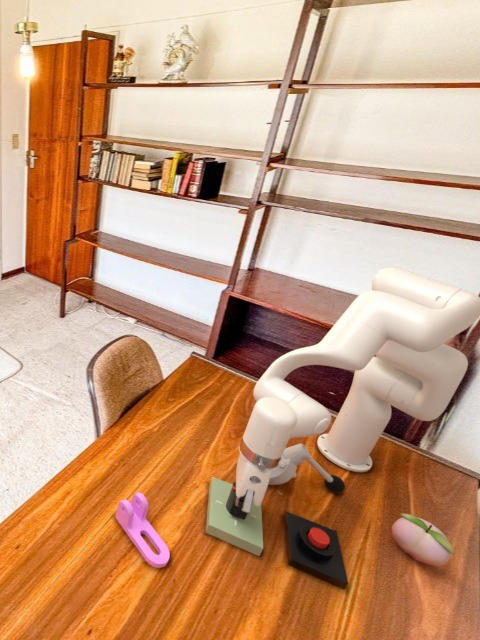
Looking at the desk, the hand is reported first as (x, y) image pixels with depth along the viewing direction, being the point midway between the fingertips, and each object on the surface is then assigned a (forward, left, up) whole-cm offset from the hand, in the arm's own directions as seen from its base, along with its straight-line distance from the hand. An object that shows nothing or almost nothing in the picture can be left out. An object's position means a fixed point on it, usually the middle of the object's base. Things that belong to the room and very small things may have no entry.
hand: (237, 505), depth 92 cm
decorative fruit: (-10, +36, -5) cm, 38 cm away
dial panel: (0, 0, -4) cm, 4 cm away
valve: (-19, +14, -5) cm, 24 cm away
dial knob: (0, 0, -1) cm, 1 cm away
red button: (0, +16, -1) cm, 16 cm away
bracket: (+15, -18, -5) cm, 24 cm away
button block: (0, +16, -4) cm, 17 cm away
